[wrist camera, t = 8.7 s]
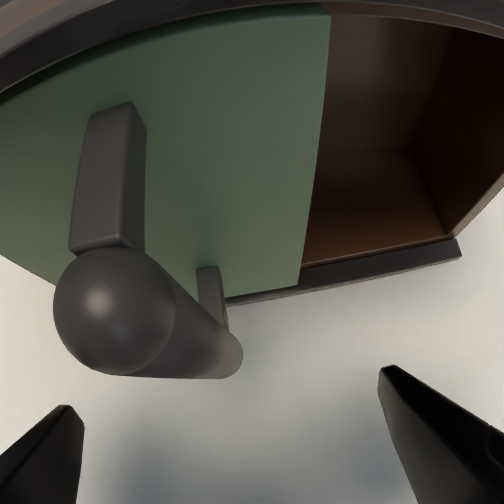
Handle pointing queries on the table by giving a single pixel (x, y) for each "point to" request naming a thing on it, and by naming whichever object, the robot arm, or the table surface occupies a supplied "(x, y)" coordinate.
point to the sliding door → (166, 182)
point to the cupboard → (347, 119)
